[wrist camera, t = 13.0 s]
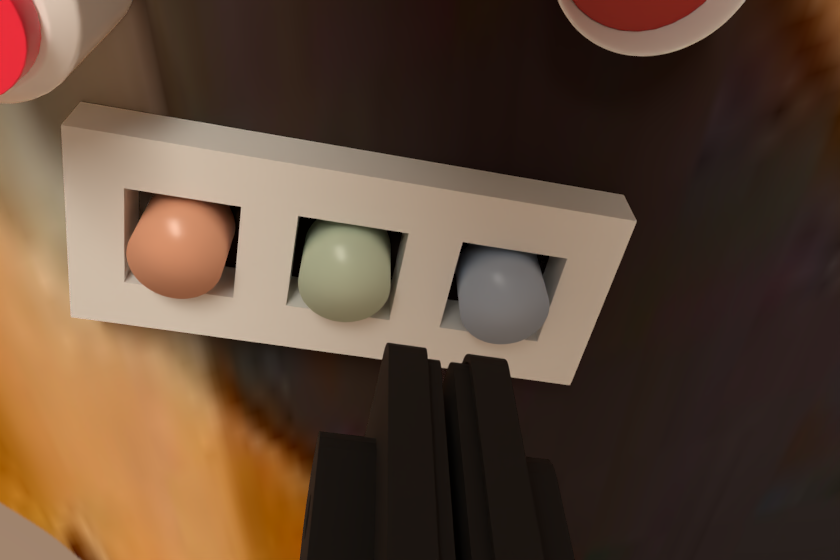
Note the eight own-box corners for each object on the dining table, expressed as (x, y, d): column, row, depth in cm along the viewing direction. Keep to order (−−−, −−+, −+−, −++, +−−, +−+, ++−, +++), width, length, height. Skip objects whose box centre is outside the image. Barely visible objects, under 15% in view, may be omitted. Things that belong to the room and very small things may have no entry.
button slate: (466, 227, 46) (471, 265, 43) (548, 241, 47) (560, 279, 44) (447, 297, 49) (451, 337, 46) (525, 308, 50) (535, 349, 46)
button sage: (310, 202, 45) (303, 239, 42) (397, 216, 46) (398, 254, 42) (299, 274, 48) (293, 315, 44) (382, 287, 48) (381, 327, 45)
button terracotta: (146, 176, 44) (126, 212, 41) (238, 190, 45) (226, 227, 41) (145, 251, 47) (126, 291, 43) (232, 264, 47) (220, 304, 44)
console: (80, 101, 42) (60, 124, 39) (623, 194, 46) (636, 221, 43) (87, 287, 48) (70, 316, 46) (561, 354, 52) (570, 385, 50)
